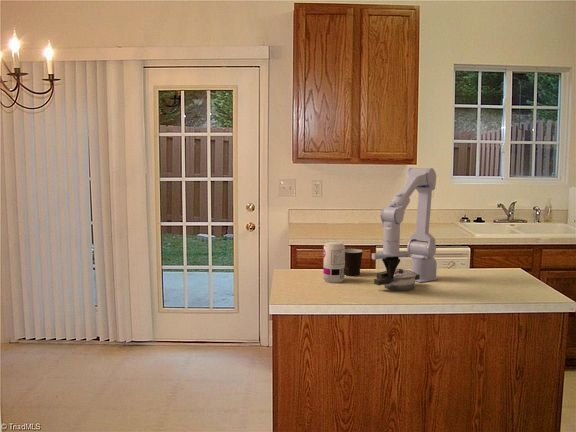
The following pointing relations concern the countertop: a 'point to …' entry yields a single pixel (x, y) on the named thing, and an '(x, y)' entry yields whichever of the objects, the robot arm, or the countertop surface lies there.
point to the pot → (398, 283)
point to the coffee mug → (353, 262)
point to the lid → (397, 274)
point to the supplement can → (334, 262)
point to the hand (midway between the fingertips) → (390, 277)
